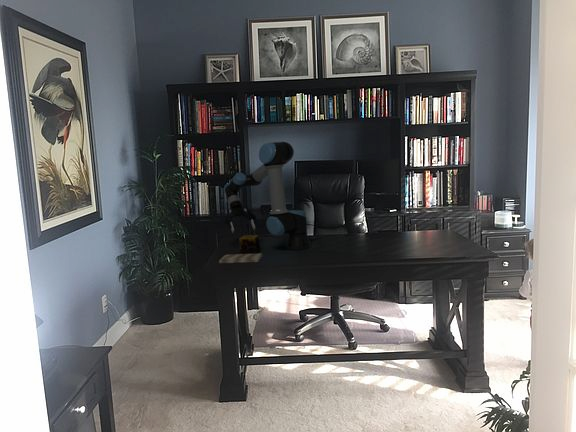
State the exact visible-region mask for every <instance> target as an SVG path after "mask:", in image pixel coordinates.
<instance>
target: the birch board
mask: <svg viewBox="0 0 576 432" xmlns="http://www.w3.org/2000/svg"><path fill="white" fill-rule="evenodd" d="M262 257H263V253H260V252H258V253H257V254H239V253H237V254H236V253H235V254H225V255H223V256H222V257H221V258H220V259H219V260H218V263H219V264H233V263H256V262H257V263H258V262H259V261H260V259H262Z"/></svg>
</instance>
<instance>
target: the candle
mask: <svg viewBox="0 0 576 432" xmlns="http://www.w3.org/2000/svg"><path fill="white" fill-rule="evenodd" d="M238 239H239V252H240V254H258V253H260V252H261V244H260V236H259V234H258V235H257V234H255V235H254V234H253V235H250V234H249V235H243V236H241V237H240V238H238Z"/></svg>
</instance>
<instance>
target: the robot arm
mask: <svg viewBox="0 0 576 432" xmlns="http://www.w3.org/2000/svg"><path fill="white" fill-rule="evenodd" d="M294 151H295V150H294V148H293V146H292V144H290V143H289V142H286V141H279V142H278V141H277V142H276V141H275V142H272V141H271V142H267V143H264V144H262V145H261V146H260V148H259V150H258V159H259V161H260V162H261V165H260V166H259V167H258V168H257V169H256V170H254V171H253V172H252V173H250V174H244V173H242V172H237V173H236V174H235V175H234V176H233V177H232V179H231V181H230V182H227V183H226V184H224V186H223V189H224V193H225V196H226V199H227V202H228V204H229V208H230V209H226V217H225V220H224V224H225V225H228V227H229V229H230V230H231V233H232V234H234V232H235V229H234V225H233V221H232V220H233V219H234V218H235V217H241V216H242V217H244V218H246V219H248V220H249V221H250V224H251V227H252V229H253V231H255V230H256V226H255V225H256V220H257V216H256V215H255V214H254V213H253V212H252V211H251V210H250V209H249V208H248V206H247V207H246V208H244V207H243V205H242V202H241V198H240V195H239V192H240V191H241V189H242V188H246V187H256V186H259V185H261V184H262V183H263V180H264V179H265V178H267V179H268V187H269V189H268V190H269V198H270V199H269V200H270V208H271V210H270V212H269V213H268V215H269V217H268V218H267V220H266V222H265V223H266V225H265V226H266V228H267V230H268V232H269V233H270V234H271V235H273V236H277V237H278V236H283V235H287V239H286V243H285V248H286V250H291V251H300V250H307V249H309V248H311V247H312V245H311V243H312V242H311V241H310V239H309V237H308V229H307V228H308V227H307V226H308V225H307V213H306V211H305V210H297V209H295V210H292V209H291V210H290V209H287V205H286V196H285V193H286V192H285V185H284V177H283V176H284V175H283V174H284V173H283V168H284V166H285V165H286V164H287V163H289V162H290V161H291V160H292V159H293V157H294ZM230 214H232V215H231V216H230ZM229 217H230V218H229Z"/></svg>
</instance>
